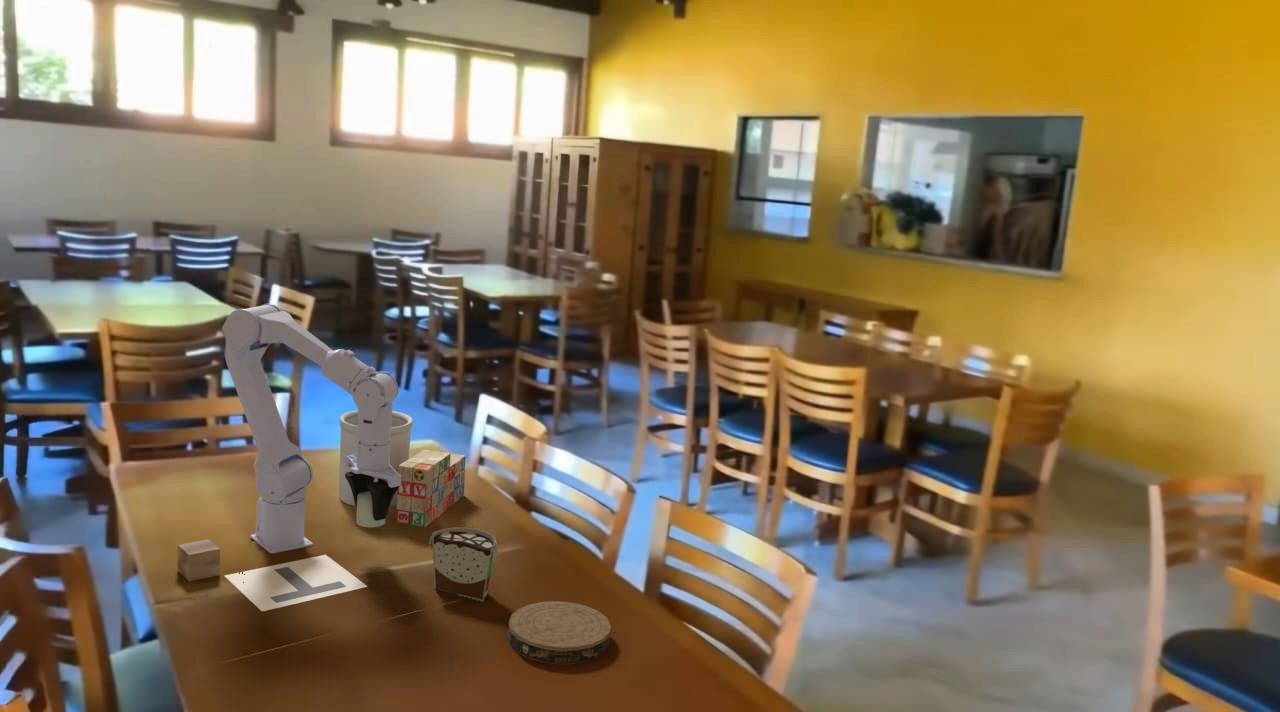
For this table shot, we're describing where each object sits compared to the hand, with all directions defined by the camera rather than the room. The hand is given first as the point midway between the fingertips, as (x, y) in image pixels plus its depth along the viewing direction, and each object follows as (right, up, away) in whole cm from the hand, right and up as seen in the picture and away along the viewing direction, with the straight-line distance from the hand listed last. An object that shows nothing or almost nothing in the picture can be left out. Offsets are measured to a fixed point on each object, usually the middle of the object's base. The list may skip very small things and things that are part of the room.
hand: (371, 514), depth 178 cm
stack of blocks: (+5, -4, +30) cm, 30 cm away
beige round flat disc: (+35, -16, -22) cm, 45 cm away
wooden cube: (-26, -8, -11) cm, 29 cm away
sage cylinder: (0, -1, 0) cm, 1 cm away
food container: (+19, -12, -7) cm, 23 cm away
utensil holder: (-8, -2, +33) cm, 34 cm away
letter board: (-10, -10, -11) cm, 17 cm away
